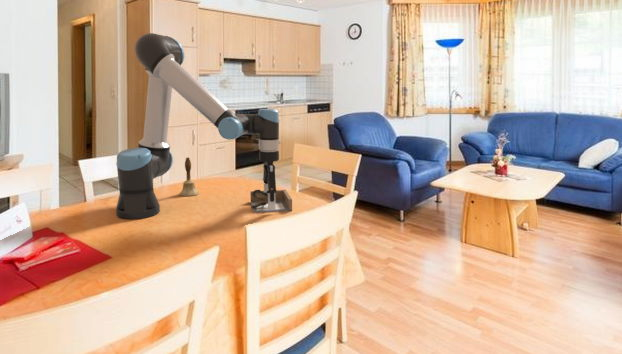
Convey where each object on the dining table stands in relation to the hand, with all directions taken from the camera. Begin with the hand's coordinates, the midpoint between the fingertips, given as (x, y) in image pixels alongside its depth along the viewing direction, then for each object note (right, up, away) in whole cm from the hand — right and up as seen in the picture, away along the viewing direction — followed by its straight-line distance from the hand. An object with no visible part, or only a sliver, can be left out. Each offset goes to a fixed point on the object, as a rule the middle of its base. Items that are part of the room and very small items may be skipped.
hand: (269, 204), depth 169 cm
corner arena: (0, -1, +3) cm, 3 cm away
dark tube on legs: (-2, -1, 0) cm, 3 cm away
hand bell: (-37, +3, +20) cm, 42 cm away
